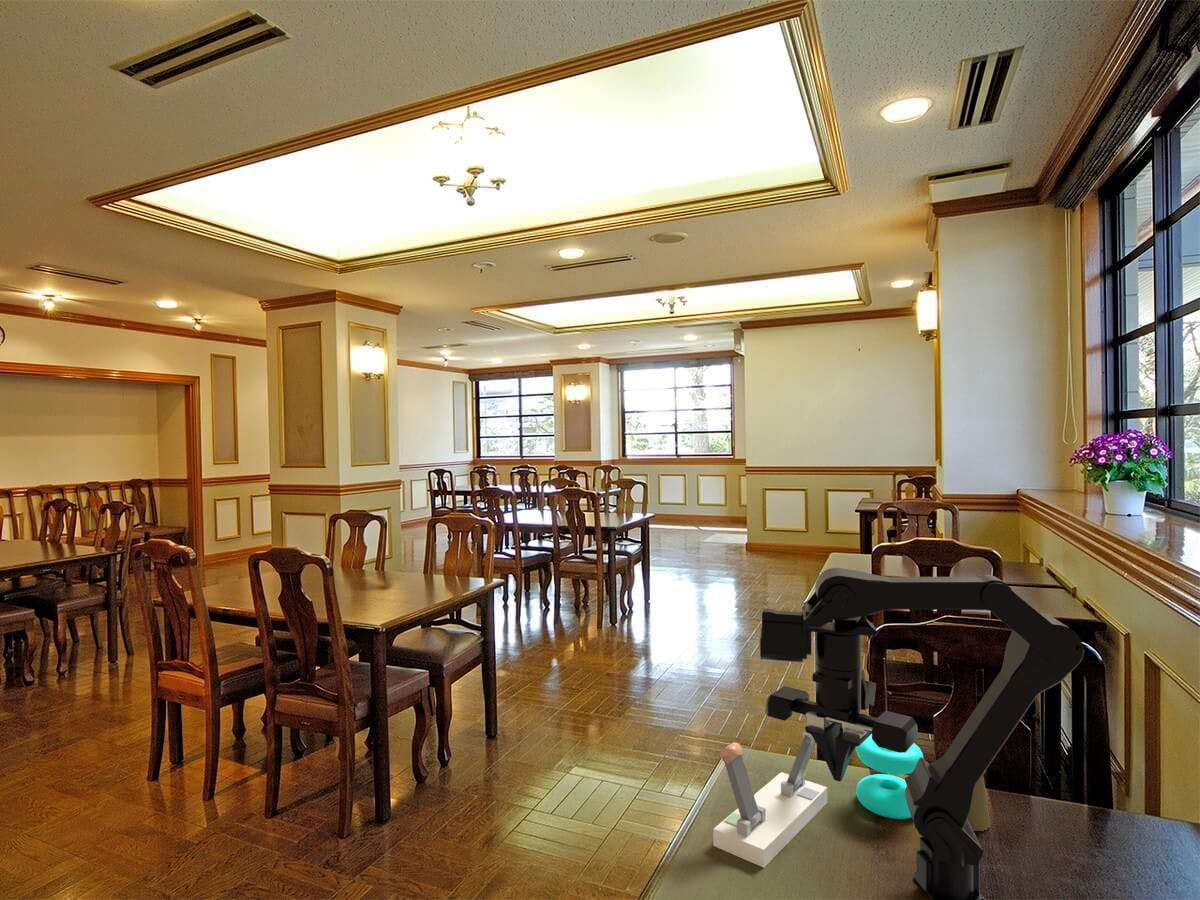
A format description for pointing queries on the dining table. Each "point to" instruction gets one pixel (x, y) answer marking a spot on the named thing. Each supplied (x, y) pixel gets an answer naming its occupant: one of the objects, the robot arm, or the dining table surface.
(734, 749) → the terracotta lever
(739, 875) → the dining table surface
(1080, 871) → the dining table surface
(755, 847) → the switch unit
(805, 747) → the grey lever
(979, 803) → the cork
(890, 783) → the teal curved piece
